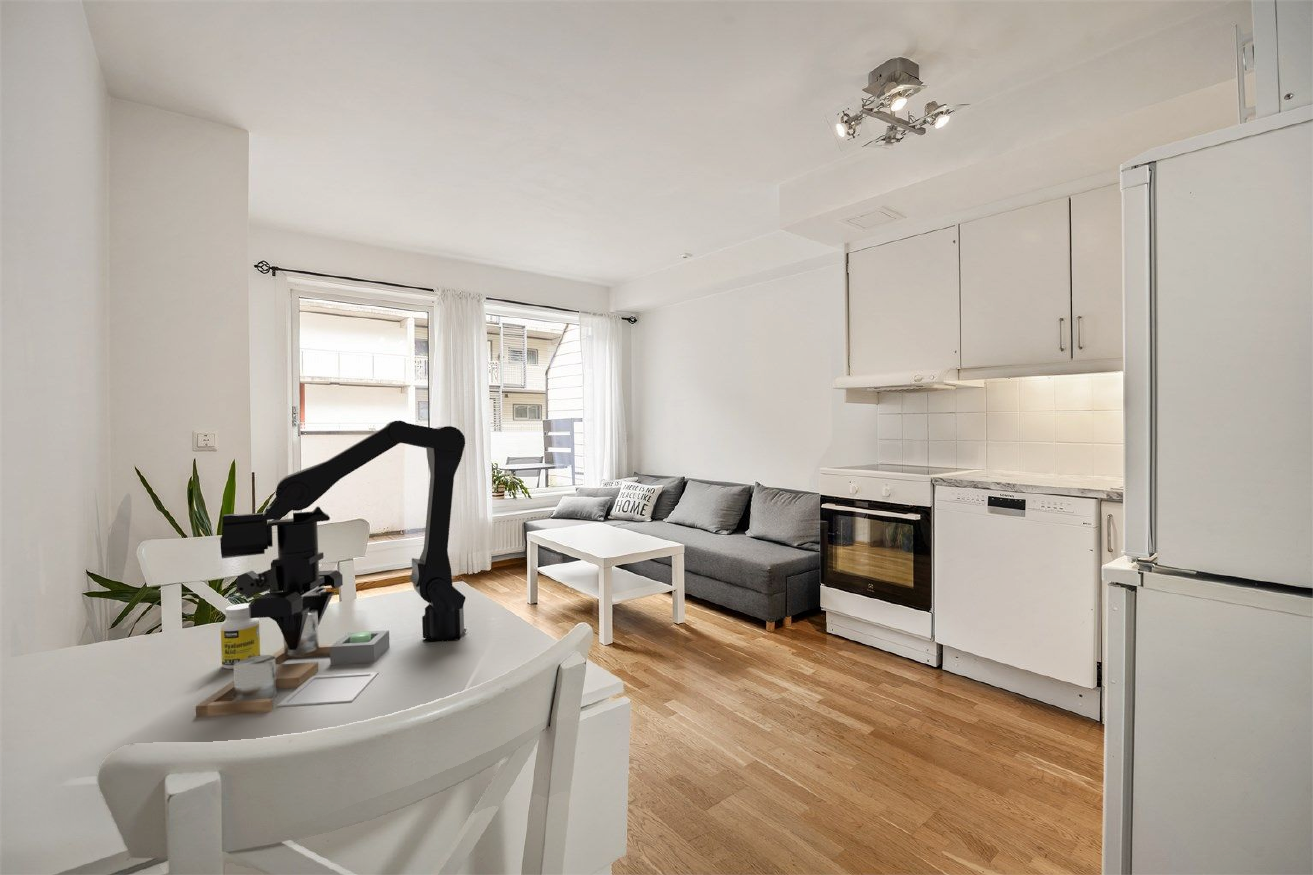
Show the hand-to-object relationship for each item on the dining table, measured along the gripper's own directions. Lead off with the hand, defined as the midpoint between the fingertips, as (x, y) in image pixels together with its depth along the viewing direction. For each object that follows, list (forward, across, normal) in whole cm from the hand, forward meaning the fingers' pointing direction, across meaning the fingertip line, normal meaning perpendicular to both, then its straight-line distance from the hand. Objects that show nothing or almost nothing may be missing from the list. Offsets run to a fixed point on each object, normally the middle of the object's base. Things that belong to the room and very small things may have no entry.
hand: (301, 643), depth 99 cm
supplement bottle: (+4, -3, -12) cm, 13 cm away
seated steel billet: (+4, +13, 0) cm, 14 cm away
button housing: (+4, -2, +8) cm, 10 cm away
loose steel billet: (+1, 0, 0) cm, 1 cm away
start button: (+3, -3, +8) cm, 9 cm away
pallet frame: (+4, +7, -1) cm, 8 cm away
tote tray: (+4, +11, +9) cm, 15 cm away
